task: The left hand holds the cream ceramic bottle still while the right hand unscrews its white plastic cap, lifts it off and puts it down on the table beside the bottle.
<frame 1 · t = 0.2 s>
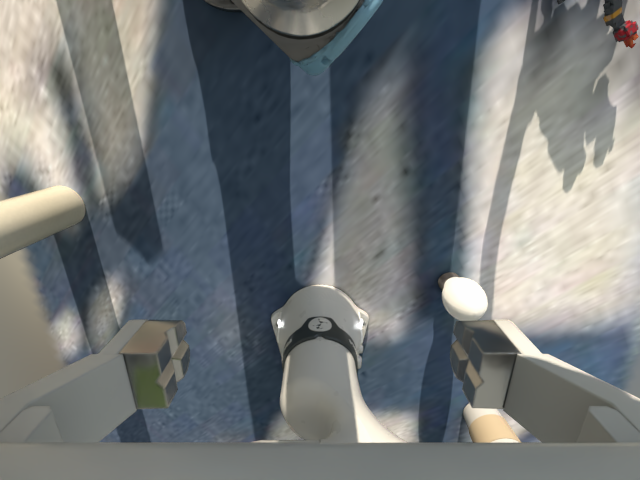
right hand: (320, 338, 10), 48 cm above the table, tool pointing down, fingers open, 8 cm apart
light bulb: (449, 280, 63), on the table
coffee cup: (478, 410, 74), on the table
bottle: (64, 205, 58), on the table
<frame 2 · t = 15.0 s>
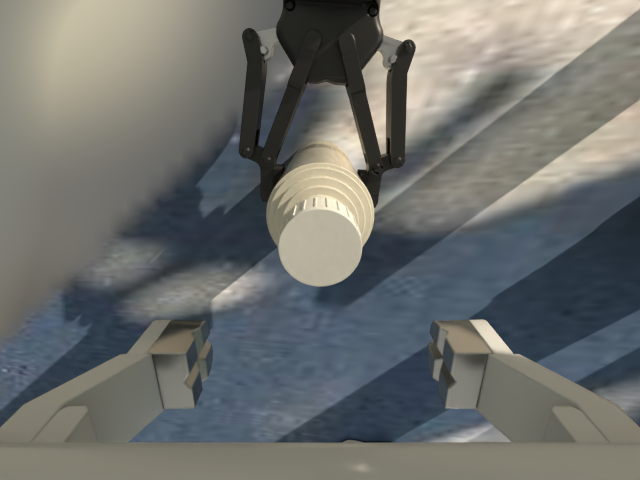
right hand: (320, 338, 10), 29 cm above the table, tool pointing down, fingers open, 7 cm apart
left hand: (317, 235, 33), fingers closed on bottle, 7 cm apart
cap: (320, 247, 17), point 22 cm above the table, screwed on, not yet turned
bottle: (320, 173, 38), on the table, touching left hand
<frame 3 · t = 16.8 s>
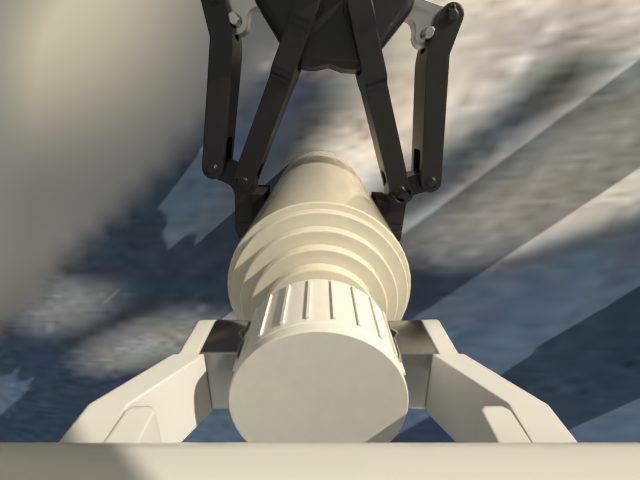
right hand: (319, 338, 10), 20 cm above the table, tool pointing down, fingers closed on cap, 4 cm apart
left hand: (315, 282, 24), fingers closed on bottle, 7 cm apart
cap: (318, 396, 8), point 22 cm above the table, screwed on, not yet turned, touching right hand
bottle: (319, 192, 29), on the table, touching left hand
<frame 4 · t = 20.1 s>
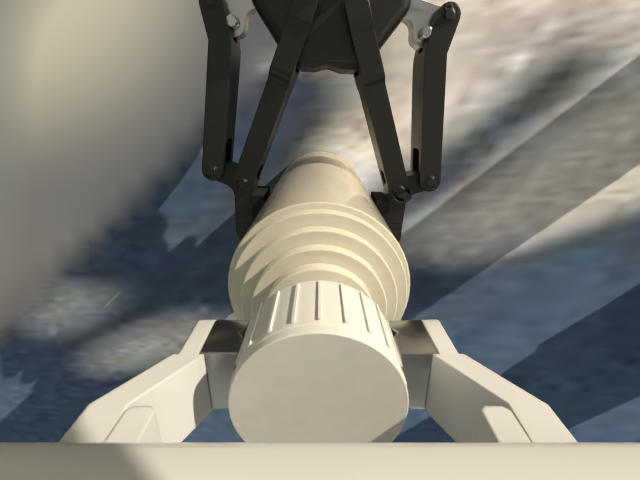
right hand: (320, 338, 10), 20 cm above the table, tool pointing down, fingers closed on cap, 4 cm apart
left hand: (316, 282, 24), fingers closed on bottle, 7 cm apart
cap: (318, 398, 8), point 22 cm above the table, turned 90° so far, risen 0.1 cm, still on its thread, touching right hand
bottle: (319, 193, 29), on the table, touching left hand
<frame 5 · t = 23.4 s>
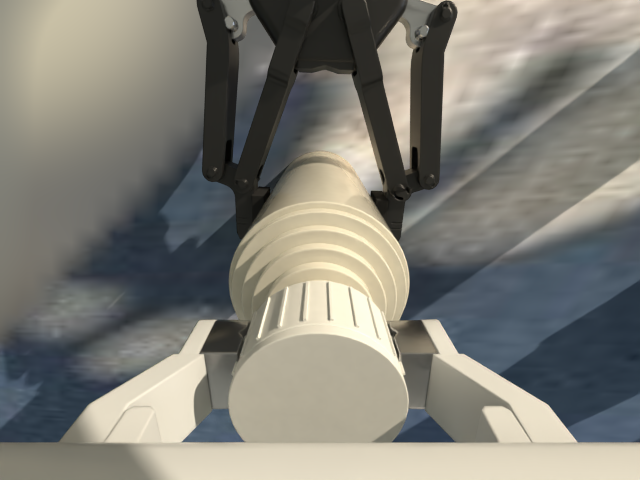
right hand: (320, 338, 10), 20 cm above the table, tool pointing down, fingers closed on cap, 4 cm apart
left hand: (317, 281, 24), fingers closed on bottle, 7 cm apart
cap: (318, 398, 8), point 22 cm above the table, turned 180° so far, risen 0.2 cm, still on its thread, touching right hand
bottle: (319, 193, 29), on the table, touching left hand
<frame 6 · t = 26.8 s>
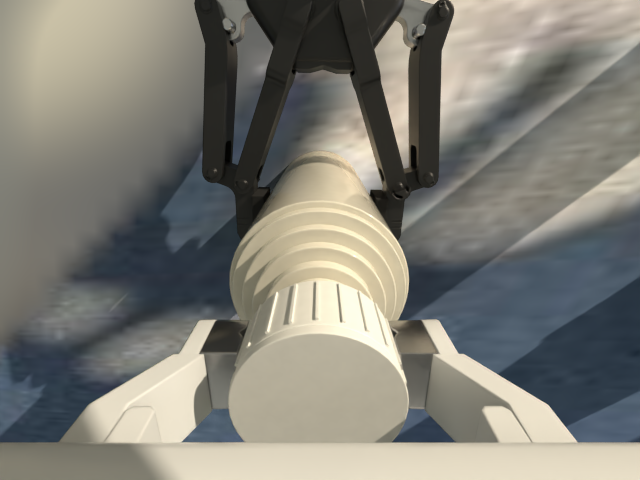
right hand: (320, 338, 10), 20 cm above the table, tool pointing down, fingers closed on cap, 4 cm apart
left hand: (318, 281, 25), fingers closed on bottle, 7 cm apart
cap: (318, 398, 8), point 22 cm above the table, turned 270° so far, risen 0.3 cm, still on its thread, touching right hand
bottle: (319, 192, 29), on the table, touching left hand
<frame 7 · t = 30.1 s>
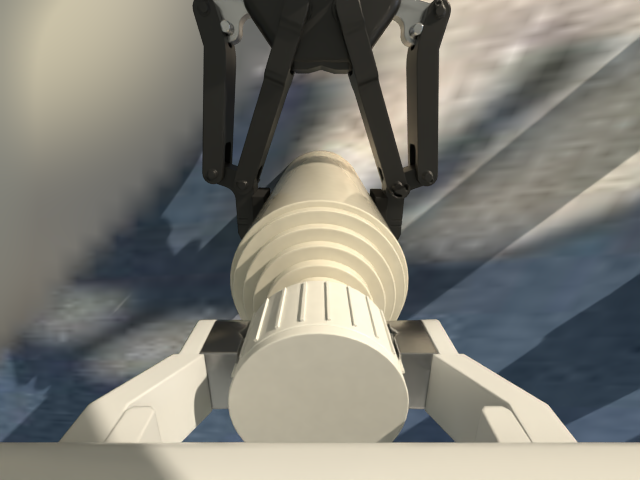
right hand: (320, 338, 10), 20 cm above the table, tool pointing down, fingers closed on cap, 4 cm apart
left hand: (319, 280, 25), fingers closed on bottle, 7 cm apart
cap: (318, 398, 8), point 23 cm above the table, turned 360° so far, risen 0.4 cm, still on its thread, touching right hand
bottle: (319, 192, 29), on the table, touching left hand
when the right hand's fingers open (2 cm above the table, at t = 40.1 s): cap drops 2 cm, point 2 cm above the table.
when the left hand's fingers open (7 cm above the table, at t = 41.2 s): bottle stays where it is, on the table.
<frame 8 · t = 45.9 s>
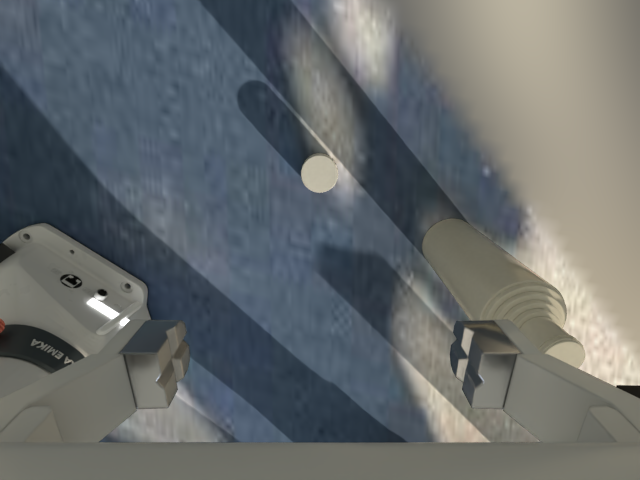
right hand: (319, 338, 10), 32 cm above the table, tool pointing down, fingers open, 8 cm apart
cap: (319, 173, 39), point 2 cm above the table, off its thread
bottle: (449, 244, 44), on the table
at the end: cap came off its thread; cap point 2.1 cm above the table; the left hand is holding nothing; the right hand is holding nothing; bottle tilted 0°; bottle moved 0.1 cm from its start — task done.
